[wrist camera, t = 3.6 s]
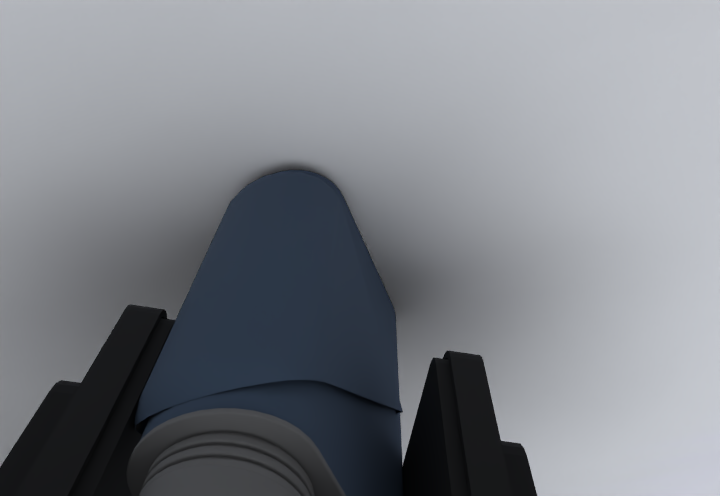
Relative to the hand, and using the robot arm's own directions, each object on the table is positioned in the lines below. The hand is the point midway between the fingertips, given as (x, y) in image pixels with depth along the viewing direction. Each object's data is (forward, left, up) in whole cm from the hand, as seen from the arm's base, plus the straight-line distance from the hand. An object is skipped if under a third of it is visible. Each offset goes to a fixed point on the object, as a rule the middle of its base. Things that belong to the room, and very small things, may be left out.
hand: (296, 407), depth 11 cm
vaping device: (0, 0, -5) cm, 5 cm away
